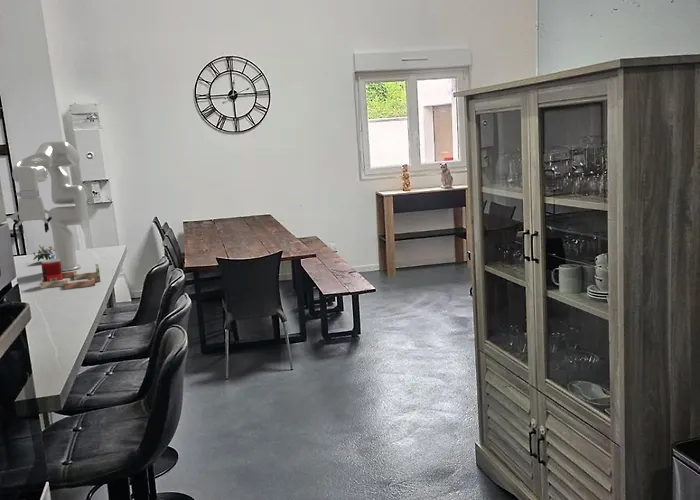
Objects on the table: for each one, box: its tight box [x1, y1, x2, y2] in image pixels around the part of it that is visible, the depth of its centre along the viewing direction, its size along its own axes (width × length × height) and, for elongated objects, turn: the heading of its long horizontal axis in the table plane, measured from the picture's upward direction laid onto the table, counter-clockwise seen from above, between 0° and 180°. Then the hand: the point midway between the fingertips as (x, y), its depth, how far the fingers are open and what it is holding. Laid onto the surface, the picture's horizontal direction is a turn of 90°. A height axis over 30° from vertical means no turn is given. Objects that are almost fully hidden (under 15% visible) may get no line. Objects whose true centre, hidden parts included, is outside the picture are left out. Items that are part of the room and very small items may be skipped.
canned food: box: [40, 258, 64, 282], centre depth 290 cm, size 8×8×11 cm
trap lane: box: [39, 263, 101, 290], centre depth 293 cm, size 25×29×6 cm
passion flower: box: [32, 245, 56, 262], centre depth 350 cm, size 11×11×12 cm
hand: (34, 233), depth 286 cm, fingers open, 9 cm apart
